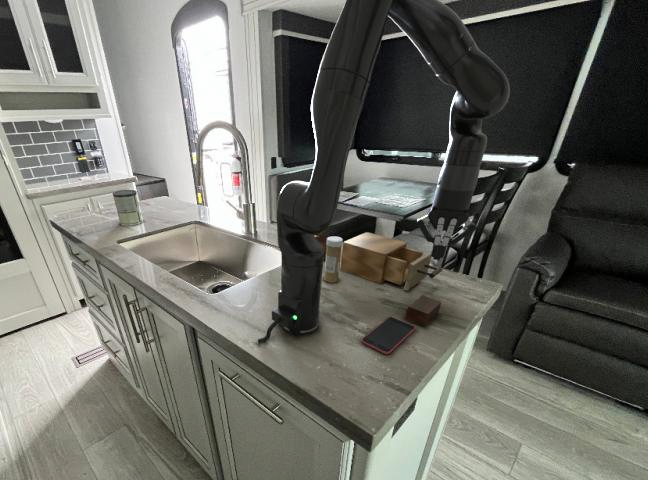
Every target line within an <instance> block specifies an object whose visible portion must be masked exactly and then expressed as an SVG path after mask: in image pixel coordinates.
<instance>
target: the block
mask: <svg viewBox="0 0 648 480" xmlns="http://www.w3.org/2000/svg"><path fill="white" fill-rule="evenodd" d="M441 305H442V301H440V300H438V299H435V298H433V297H430V296H427V295H424V294H421V295H420V296H419V297H418V298H416V299H415V300H414V301H413V302H412V303H410V304H409V305H407V308H406V313H405V317H404V321H407V322H409V323H412V324H414V325H417V326H419V327H422V328H426V327H427V326H428V325H429V324H430V323H431V322H433V320H434V319H435V318H436V317H437V316H438V315H439V312H440V309H441Z"/></svg>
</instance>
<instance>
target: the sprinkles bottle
mask: <svg viewBox="0 0 648 480" xmlns="http://www.w3.org/2000/svg"><path fill="white" fill-rule="evenodd" d="M343 240H344V239H343V238H342V237H340V236H330V237H328V238H327V251H326V259H325V261H324V262H325V264H324V276H323V280H324V281H325V282H327V283H336V282H339V275H340V269H341V256H342V248H343V242H344V241H343Z"/></svg>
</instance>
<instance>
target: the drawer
mask: <svg viewBox="0 0 648 480" xmlns="http://www.w3.org/2000/svg"><path fill="white" fill-rule="evenodd" d="M423 253H424V252H423V251H422V250H421V251H420V250H417V249H413V248H409V247H407V246H406V247H402V248H400V249H399V250H397V251H395V252H393V253H391V254H390V255H388V256H386V261H385V267H384V272H383V277H382V279H385V281H387V282H391V283H393V284H396V285H398V286H403V285H404V290H407V291H409V290H410V289H411V288H413V287H414V286H416V285H417V284H418V283H420V282H421V281H422V280H423V279H425V278H426V277H427V276H428V277H429V278H430V279H433V278H435V277H436V276H438V275H439V274H440V273H441V272H443V270H444V269H443V267H441V266H438V267H436V266H434V265H433V266H432V265H430V264H431V260H432V257H431V251H428V252H426V253H424V254H423ZM429 269H430V270H433V271H431V272H429Z"/></svg>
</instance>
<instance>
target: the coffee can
mask: <svg viewBox="0 0 648 480" xmlns="http://www.w3.org/2000/svg"><path fill="white" fill-rule="evenodd" d="M112 196H113V200H114V204H115V208H116V212H117V215H118V220H119V224H120V225H121V226H125V227H128V226H131V227H132V226H136V225H140V224H142V223H143V222H144V220H143V215H142V212H141V207H140V202H139V198H138V192H137V190H136V189H135V190H134V189H124V190H117V191H113V192H112Z"/></svg>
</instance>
